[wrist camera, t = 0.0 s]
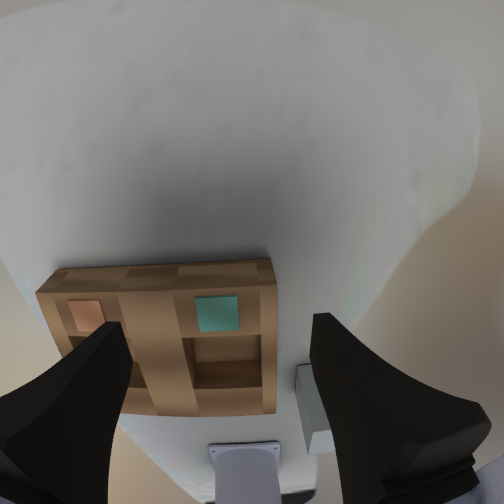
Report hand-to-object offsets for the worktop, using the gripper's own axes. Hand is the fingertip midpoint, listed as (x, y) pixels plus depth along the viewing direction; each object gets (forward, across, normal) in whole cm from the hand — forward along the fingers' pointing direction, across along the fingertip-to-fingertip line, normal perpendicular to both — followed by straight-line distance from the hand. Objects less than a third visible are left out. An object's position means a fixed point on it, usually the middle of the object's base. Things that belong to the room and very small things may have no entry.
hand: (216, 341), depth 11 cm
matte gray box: (+10, -7, +13) cm, 18 cm away
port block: (+10, +5, +8) cm, 13 cm away
